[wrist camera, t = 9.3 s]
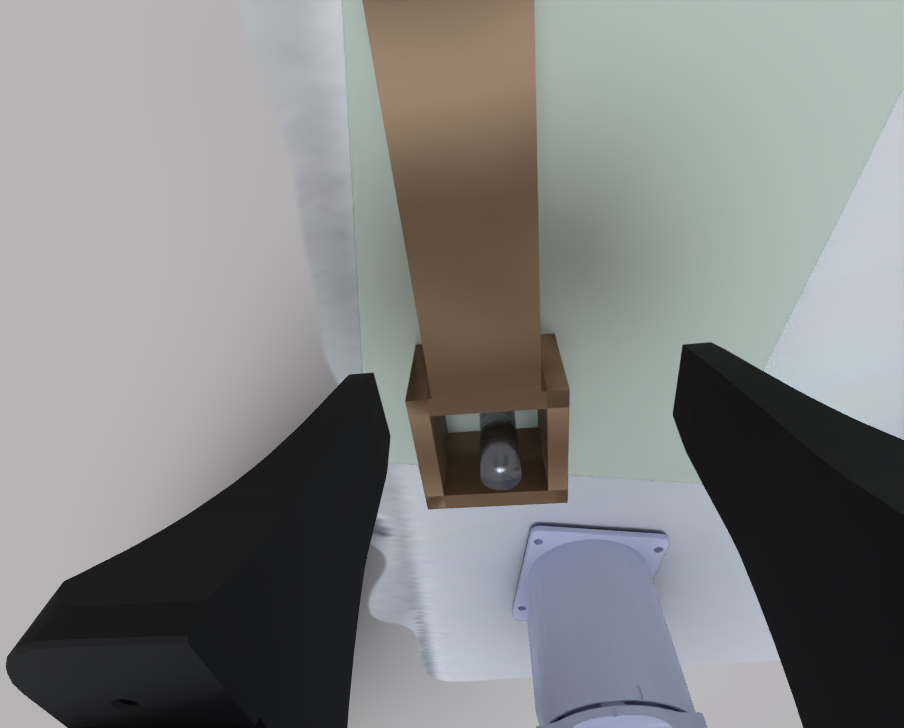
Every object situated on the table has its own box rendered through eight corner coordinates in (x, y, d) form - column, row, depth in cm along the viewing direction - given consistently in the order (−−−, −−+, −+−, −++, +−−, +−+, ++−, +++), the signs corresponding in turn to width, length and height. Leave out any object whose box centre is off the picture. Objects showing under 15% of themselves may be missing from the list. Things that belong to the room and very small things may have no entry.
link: (554, 438, 24) (567, 502, 21) (434, 445, 25) (427, 509, 21) (554, -115, 13) (581, -166, 10) (338, -79, 14) (294, -116, 10)
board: (702, 477, 26) (706, 484, 26) (368, 454, 26) (367, 461, 26) (1114, -371, 11) (1139, -387, 11) (322, -424, 11) (316, -443, 11)
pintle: (511, 415, 24) (518, 491, 20) (478, 413, 24) (478, 488, 20) (515, 389, 23) (524, 462, 19) (481, 386, 23) (482, 460, 19)
